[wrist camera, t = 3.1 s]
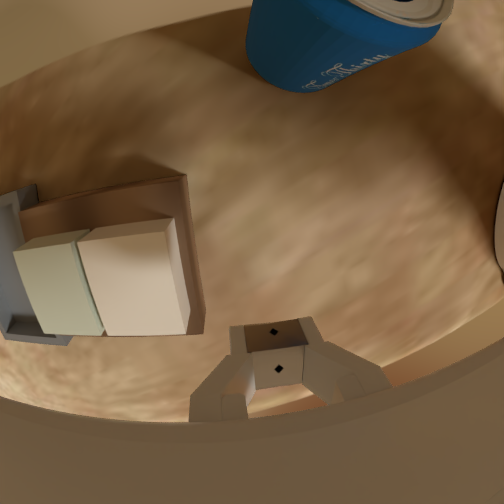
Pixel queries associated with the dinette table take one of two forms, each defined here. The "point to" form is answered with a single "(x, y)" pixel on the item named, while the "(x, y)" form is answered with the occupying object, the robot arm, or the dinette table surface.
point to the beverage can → (334, 37)
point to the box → (18, 275)
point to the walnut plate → (122, 212)
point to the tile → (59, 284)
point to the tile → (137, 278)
